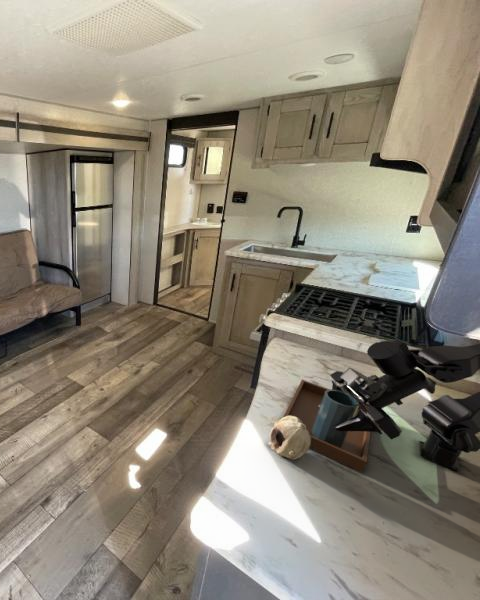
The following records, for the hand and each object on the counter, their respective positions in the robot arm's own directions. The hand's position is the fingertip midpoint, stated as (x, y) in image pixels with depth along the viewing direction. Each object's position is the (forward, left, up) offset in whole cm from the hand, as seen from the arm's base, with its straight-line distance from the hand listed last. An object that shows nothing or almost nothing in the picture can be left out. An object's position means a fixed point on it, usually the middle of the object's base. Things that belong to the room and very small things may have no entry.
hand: (327, 418), depth 80 cm
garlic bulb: (+10, -6, -8) cm, 14 cm away
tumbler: (-1, +1, -7) cm, 7 cm away
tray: (-9, 0, -7) cm, 12 cm away
